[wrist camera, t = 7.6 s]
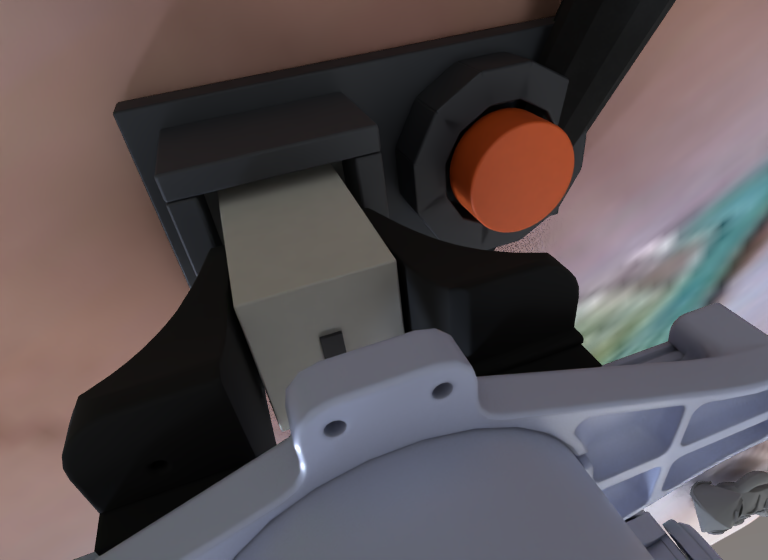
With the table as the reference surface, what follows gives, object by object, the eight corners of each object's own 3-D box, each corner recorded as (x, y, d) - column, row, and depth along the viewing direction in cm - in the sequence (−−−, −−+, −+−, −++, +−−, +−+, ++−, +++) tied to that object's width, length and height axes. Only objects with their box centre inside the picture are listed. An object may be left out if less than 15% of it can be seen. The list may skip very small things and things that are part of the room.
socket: (359, 239, 21) (400, 307, 17) (221, 278, 20) (231, 360, 16) (333, 82, 17) (378, 123, 13) (159, 119, 16) (152, 175, 12)
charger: (349, 266, 17) (413, 390, 12) (253, 294, 17) (282, 436, 12) (329, 160, 15) (398, 262, 10) (216, 186, 14) (233, 310, 9)
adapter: (543, 203, 23) (584, 232, 21) (201, 300, 20) (204, 347, 18) (561, 14, 18) (616, 24, 16) (115, 102, 15) (104, 130, 13)
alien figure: (798, 533, 59) (693, 556, 46) (760, 497, 63) (653, 509, 50) (851, 489, 56) (754, 501, 43) (808, 454, 59) (707, 456, 46)
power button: (541, 198, 20) (568, 217, 18) (450, 223, 19) (471, 245, 17) (550, 96, 17) (582, 109, 16) (446, 120, 16) (470, 136, 15)
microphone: (461, 243, 26) (727, -268, 15) (538, 314, 23) (941, -264, 12) (384, 251, 23) (654, -399, 12) (461, 336, 20) (924, -439, 9)
